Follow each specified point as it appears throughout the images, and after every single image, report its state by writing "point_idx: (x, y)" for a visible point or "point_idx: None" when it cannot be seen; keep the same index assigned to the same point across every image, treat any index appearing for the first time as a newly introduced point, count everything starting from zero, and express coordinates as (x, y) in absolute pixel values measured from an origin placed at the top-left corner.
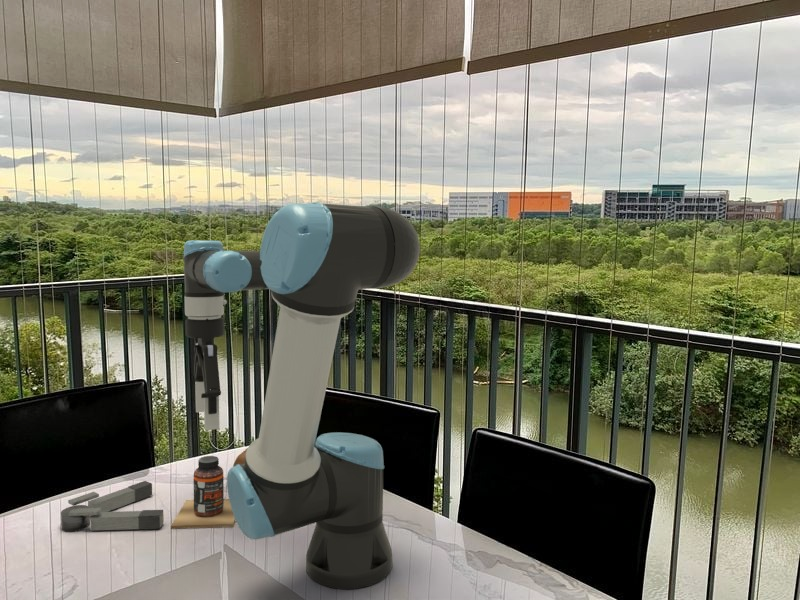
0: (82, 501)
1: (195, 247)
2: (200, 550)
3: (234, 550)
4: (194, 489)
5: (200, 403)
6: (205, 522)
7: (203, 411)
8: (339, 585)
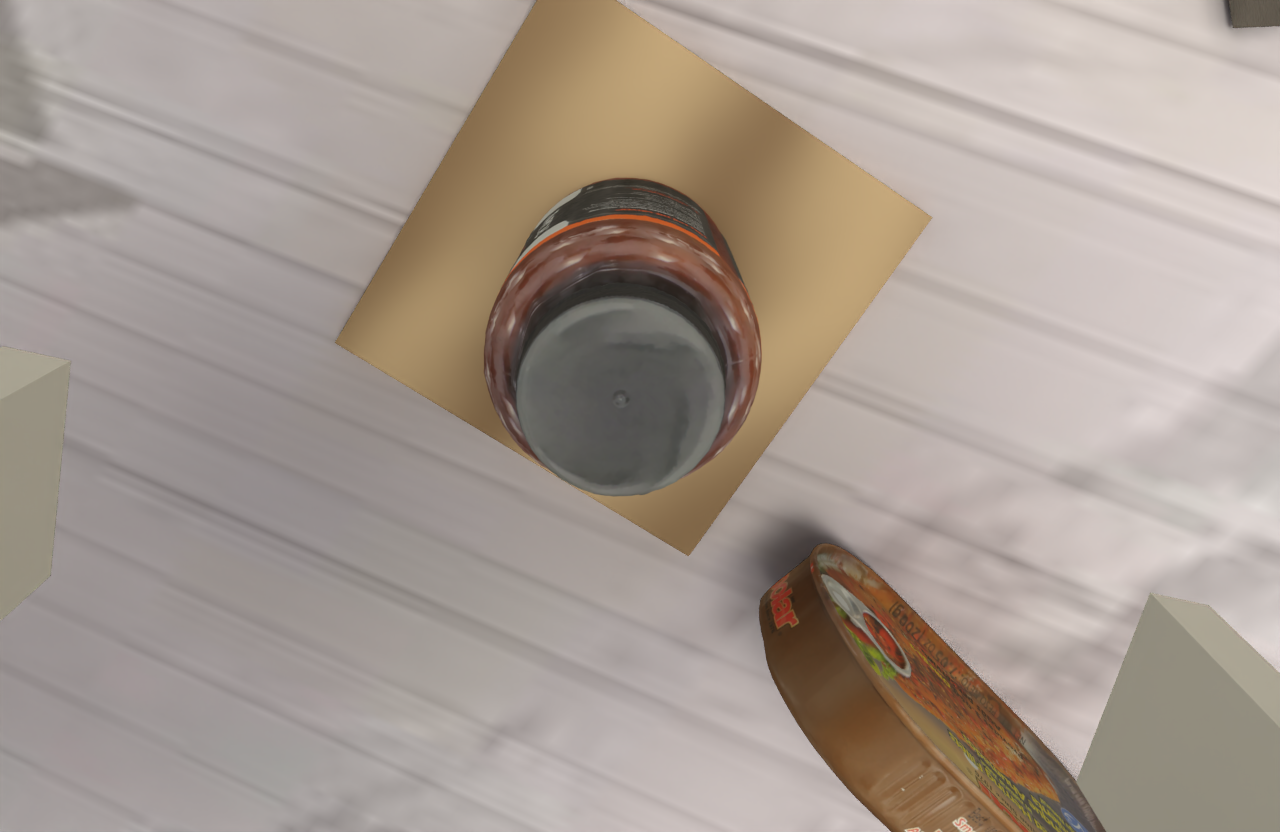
0: None
1: None
2: (126, 29)
3: (14, 217)
4: (625, 201)
5: (1194, 743)
6: (468, 197)
7: (1109, 700)
8: None
